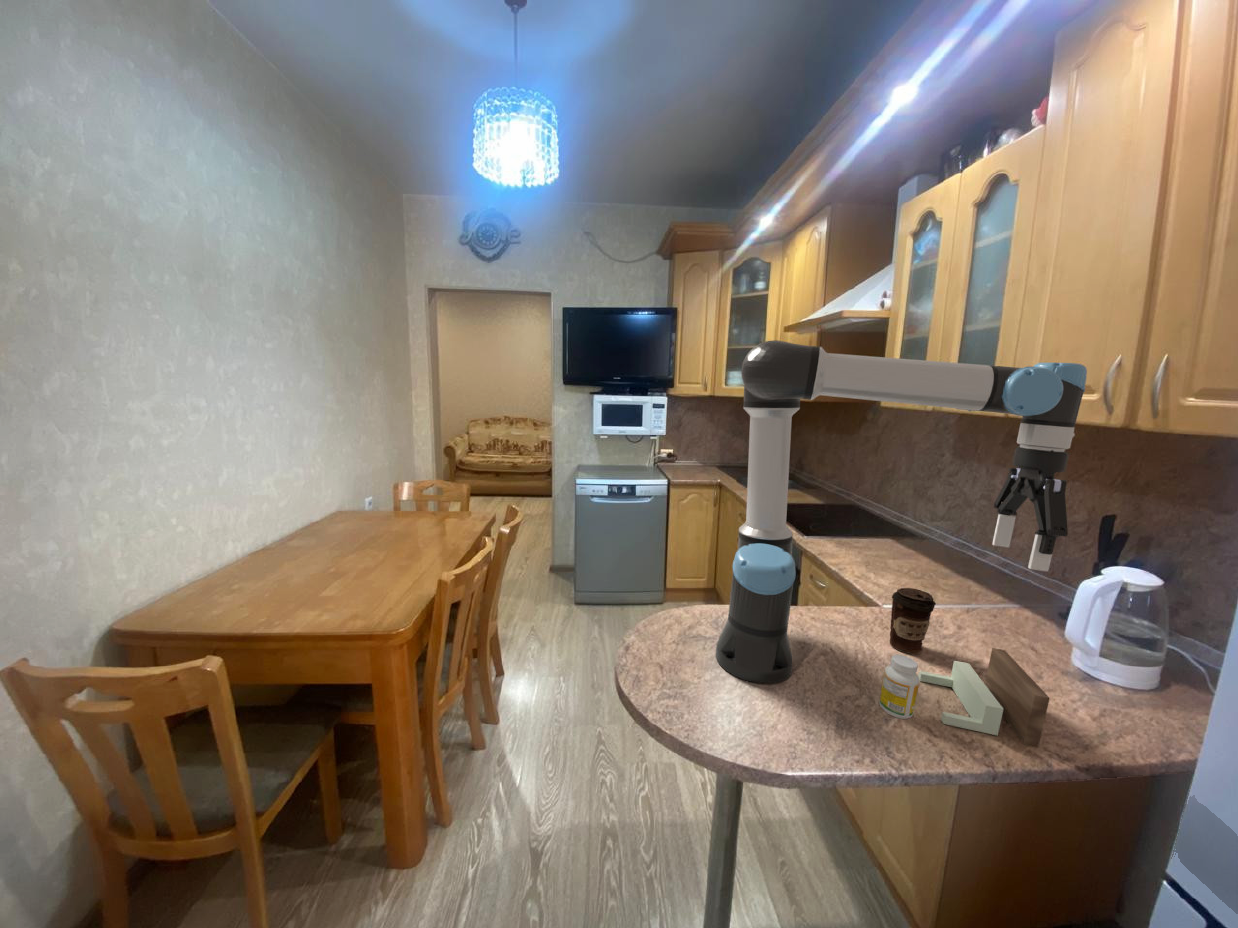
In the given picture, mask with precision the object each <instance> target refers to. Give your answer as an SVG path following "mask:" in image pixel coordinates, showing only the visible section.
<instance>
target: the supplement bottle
mask: <svg viewBox="0 0 1238 928" xmlns="http://www.w3.org/2000/svg"><path fill="white" fill-rule="evenodd" d="M890 659H891V660H890V665H888V666H886V667H885V669H884V675H883V680H882V685H881V690H880V691H881V692H880V697H879V705H880V706H879V707H881V709H882V711H884V712H885V713H887V715H890V716H892V717H895V718H898V719H903V720H906V719H910V718H912V717H913V715H914V711H915V706H916V701H917V697H918V696H917V695H918V690H919V685H920V680H919V677H918V676H919V674H917V672H918V667H919V665H918V663H917V661H915V659H913V658H912V657H908V656H906V655H903V654H894V655H892V656H891V658H890Z"/></svg>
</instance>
